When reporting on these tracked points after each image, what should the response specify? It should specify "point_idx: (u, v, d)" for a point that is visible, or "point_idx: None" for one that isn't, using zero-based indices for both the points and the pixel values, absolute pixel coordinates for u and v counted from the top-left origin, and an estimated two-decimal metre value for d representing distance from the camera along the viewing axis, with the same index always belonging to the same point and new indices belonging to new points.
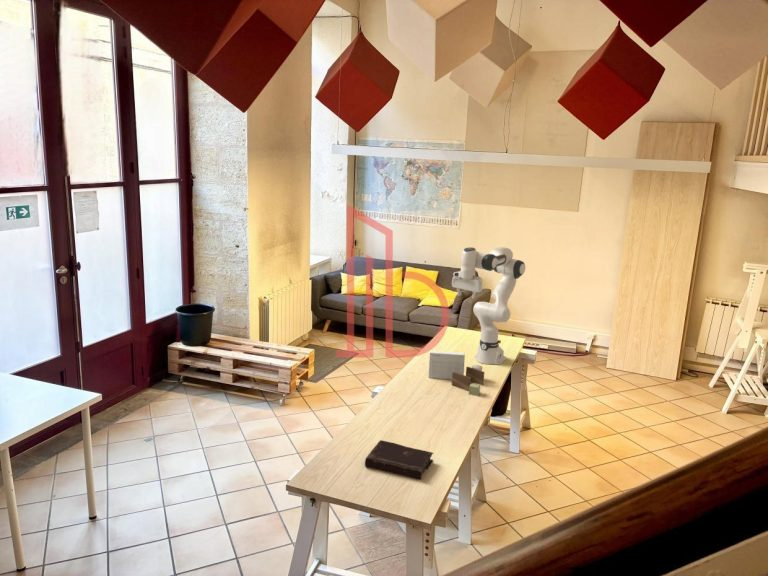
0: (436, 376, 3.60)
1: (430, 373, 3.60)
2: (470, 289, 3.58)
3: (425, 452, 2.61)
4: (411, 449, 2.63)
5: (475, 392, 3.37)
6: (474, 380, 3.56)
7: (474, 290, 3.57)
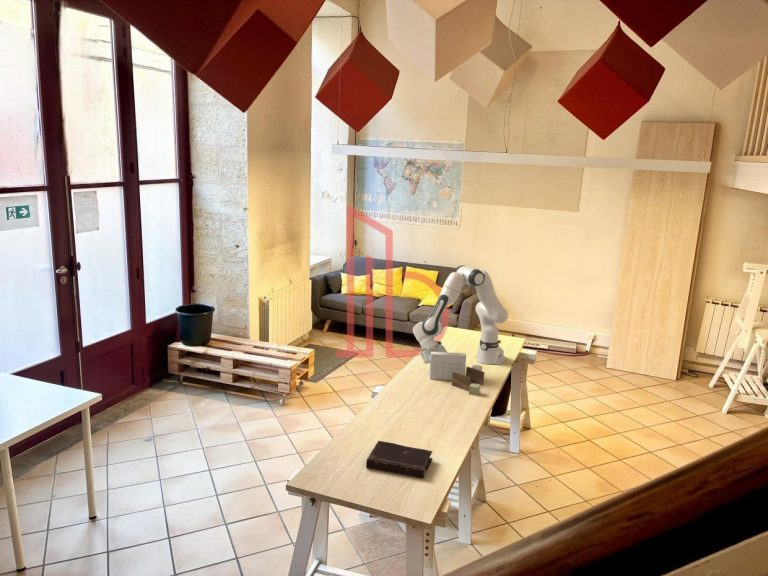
0: (437, 377, 3.59)
1: (431, 374, 3.58)
2: None
3: (424, 451, 2.62)
4: (410, 448, 2.64)
5: (475, 392, 3.37)
6: (474, 380, 3.56)
7: None
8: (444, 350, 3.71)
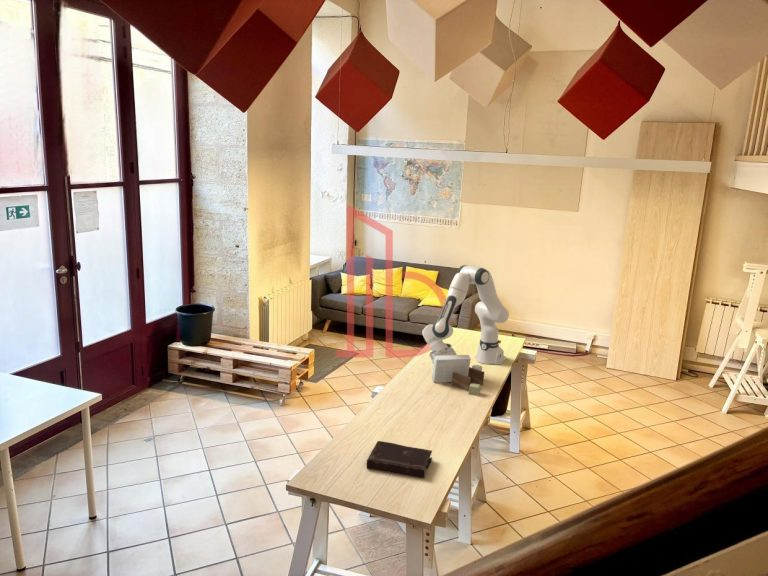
0: (441, 380, 3.54)
1: (435, 378, 3.52)
2: None
3: (424, 450, 2.62)
4: (410, 448, 2.64)
5: (475, 392, 3.37)
6: (474, 380, 3.56)
7: None
8: (454, 353, 3.66)
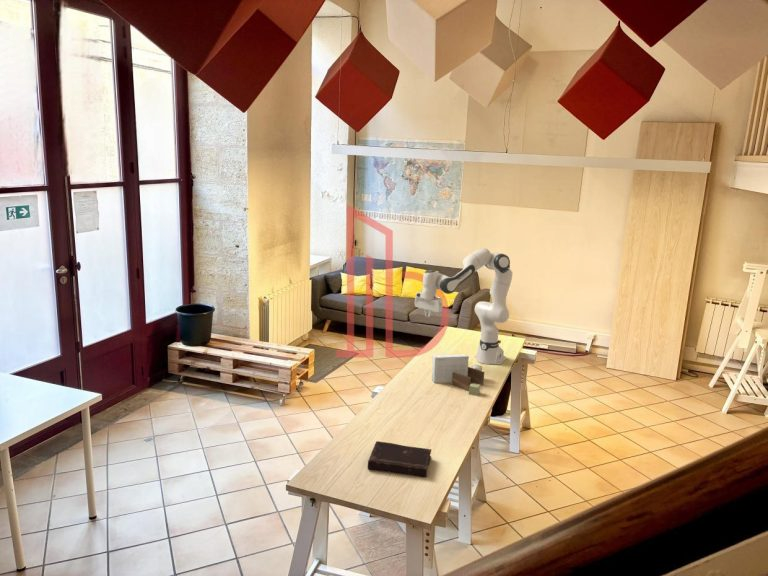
0: (441, 380, 3.54)
1: (435, 378, 3.53)
2: (431, 309, 3.75)
3: (424, 449, 2.63)
4: (409, 448, 2.64)
5: (475, 392, 3.37)
6: (474, 380, 3.56)
7: (435, 310, 3.73)
8: None
